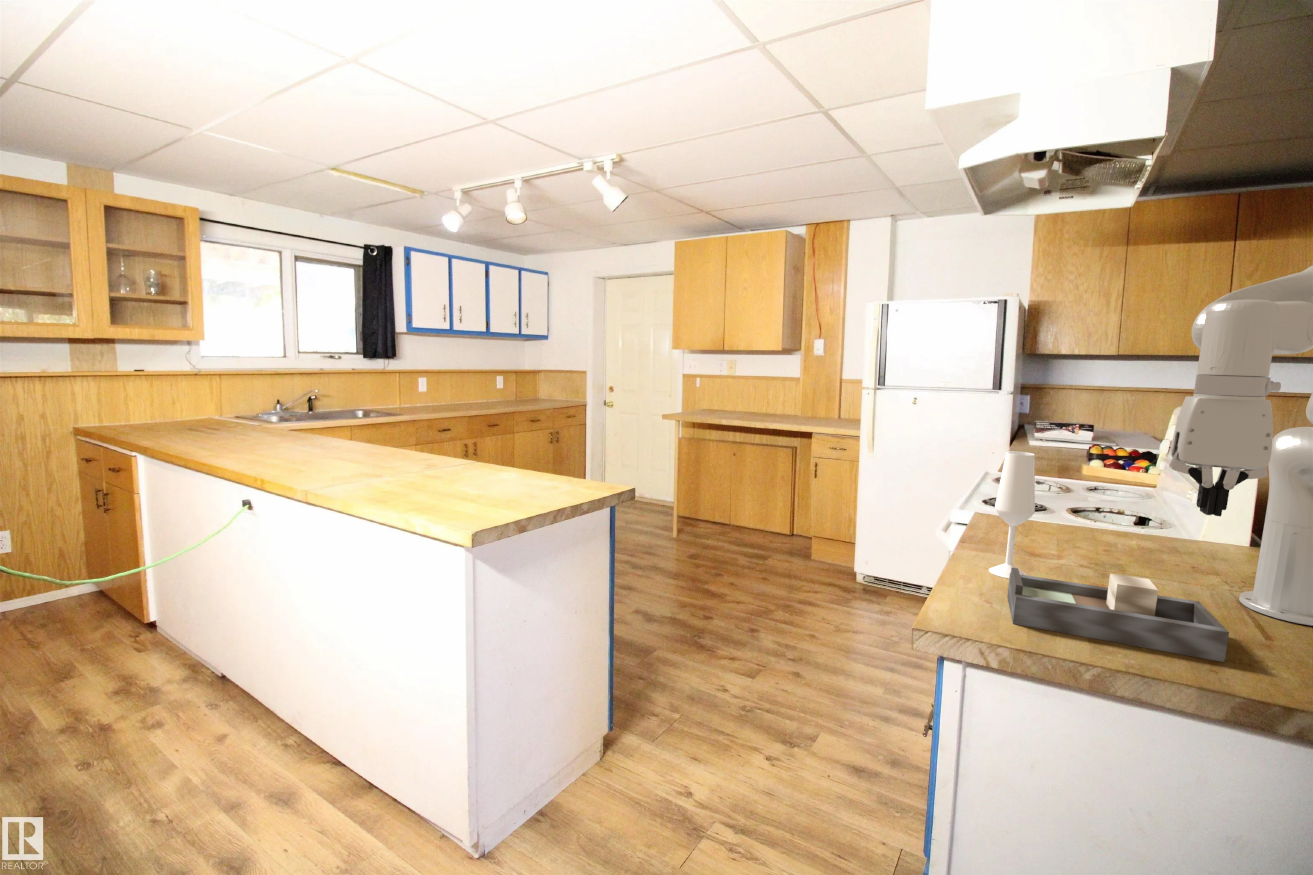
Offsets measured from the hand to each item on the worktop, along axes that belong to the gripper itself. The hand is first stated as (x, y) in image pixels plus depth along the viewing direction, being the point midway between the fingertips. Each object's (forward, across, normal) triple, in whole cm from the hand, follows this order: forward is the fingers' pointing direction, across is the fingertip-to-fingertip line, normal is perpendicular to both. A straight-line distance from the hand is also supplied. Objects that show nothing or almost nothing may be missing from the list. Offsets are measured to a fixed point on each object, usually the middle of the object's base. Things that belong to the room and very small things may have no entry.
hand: (1210, 513), depth 89 cm
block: (+17, +8, 0) cm, 19 cm away
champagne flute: (+20, +23, -20) cm, 37 cm away
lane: (+20, +11, 0) cm, 23 cm away
